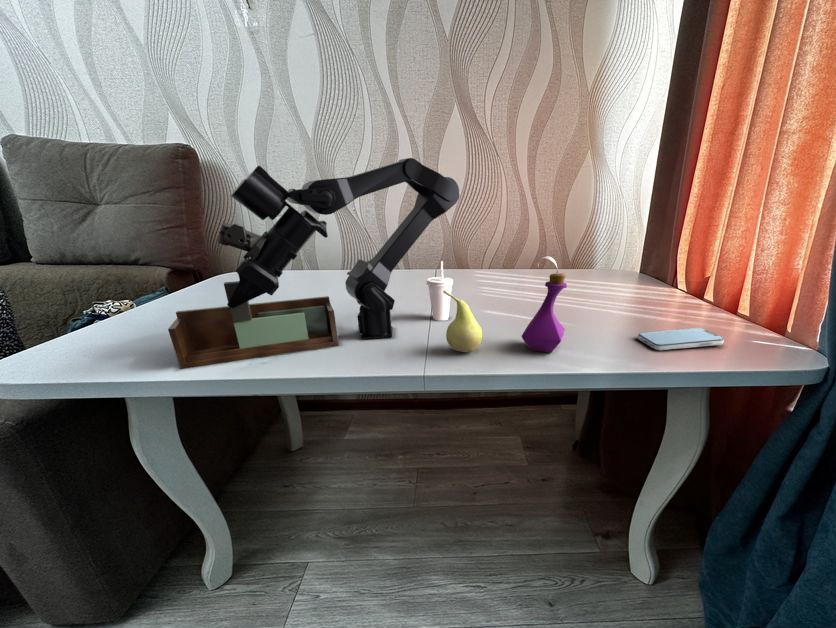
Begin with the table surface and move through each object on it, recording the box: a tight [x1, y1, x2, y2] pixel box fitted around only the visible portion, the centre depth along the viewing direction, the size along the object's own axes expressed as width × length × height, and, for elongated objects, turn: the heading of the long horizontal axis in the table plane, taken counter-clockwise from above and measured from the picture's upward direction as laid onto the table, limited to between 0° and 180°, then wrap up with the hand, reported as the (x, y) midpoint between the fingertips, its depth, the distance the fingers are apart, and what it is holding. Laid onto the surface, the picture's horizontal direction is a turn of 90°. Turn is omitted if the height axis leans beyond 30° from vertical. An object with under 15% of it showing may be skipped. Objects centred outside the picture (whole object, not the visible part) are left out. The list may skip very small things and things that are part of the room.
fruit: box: [443, 290, 483, 353], centre depth 72 cm, size 7×8×12 cm
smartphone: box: [637, 327, 725, 351], centre depth 78 cm, size 8×2×15 cm
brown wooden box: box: [167, 295, 340, 370], centre depth 73 cm, size 27×8×8 cm, turn 115°
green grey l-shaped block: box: [223, 280, 309, 348], centre depth 71 cm, size 12×2×13 cm, turn 115°
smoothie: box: [425, 260, 454, 321], centre depth 91 cm, size 6×6×14 cm
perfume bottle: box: [521, 255, 568, 354], centre depth 72 cm, size 8×8×18 cm
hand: (230, 305), depth 68 cm, fingers closed on green grey l-shaped block, 2 cm apart
